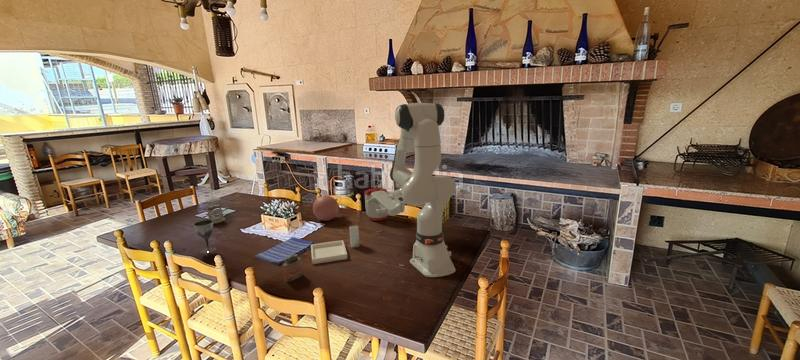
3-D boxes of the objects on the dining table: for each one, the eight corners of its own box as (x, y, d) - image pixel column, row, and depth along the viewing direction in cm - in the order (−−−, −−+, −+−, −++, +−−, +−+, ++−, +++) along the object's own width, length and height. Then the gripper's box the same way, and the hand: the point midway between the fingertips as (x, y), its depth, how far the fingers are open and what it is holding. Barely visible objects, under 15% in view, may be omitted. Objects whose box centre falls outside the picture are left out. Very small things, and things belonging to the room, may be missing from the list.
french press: (209, 218, 213) (202, 180, 206) (229, 216, 216) (223, 179, 210) (205, 224, 204) (198, 184, 197) (226, 221, 207) (220, 182, 201)
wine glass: (197, 255, 165) (191, 226, 161) (202, 248, 172) (196, 220, 168) (215, 252, 167) (210, 224, 163) (219, 245, 174) (214, 218, 170)
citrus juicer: (397, 219, 203) (396, 188, 198) (369, 224, 197) (368, 191, 192) (388, 211, 217) (387, 181, 212) (362, 215, 211) (360, 185, 206)
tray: (347, 258, 157) (347, 254, 156) (312, 264, 153) (311, 259, 152) (343, 244, 172) (343, 240, 171) (311, 249, 168) (310, 244, 167)
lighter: (299, 272, 146) (297, 251, 144) (304, 274, 144) (301, 253, 142) (283, 280, 140) (280, 258, 138) (287, 283, 138) (284, 261, 136)
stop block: (359, 246, 169) (358, 228, 166) (351, 247, 168) (350, 229, 165) (358, 243, 173) (357, 225, 170) (350, 244, 172) (349, 226, 169)
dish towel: (316, 246, 172) (315, 241, 171) (278, 267, 152) (278, 261, 152) (292, 239, 180) (292, 234, 180) (254, 258, 161) (253, 253, 160)
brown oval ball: (348, 215, 213) (347, 191, 209) (329, 226, 196) (326, 201, 192) (329, 211, 220) (327, 189, 216) (308, 222, 203) (306, 198, 199)
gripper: (384, 185, 180) (361, 192, 173) (406, 203, 165) (382, 211, 158) (384, 195, 183) (362, 202, 176) (405, 213, 168) (382, 222, 161)
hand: (371, 207), depth 167 cm, fingers open, 8 cm apart
